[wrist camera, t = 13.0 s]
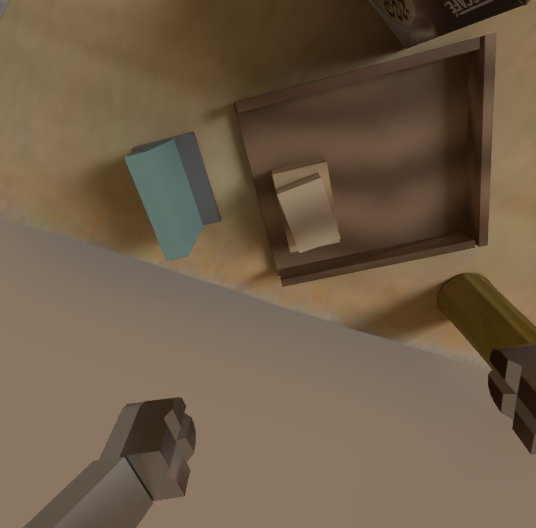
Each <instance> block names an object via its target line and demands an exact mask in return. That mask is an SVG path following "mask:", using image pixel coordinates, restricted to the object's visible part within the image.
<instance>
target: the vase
mask: <svg viewBox="0 0 536 528" xmlns="http://www.w3.org/2000/svg"><path fill="white" fill-rule="evenodd" d="M438 304H439V308H440V310H441V311H442V312H443V313H444V314H445V315H446V316H447V317H448V318H449V320H450V321H451V322H452V323H453V324H454V325H455V327H456V328H457V329H458V330H459V331H460V332H461V333H462V334H463V336H464V337H465V338H466V339H467V340H468V341H469V342H470V344H471V345H472V346H473V347H474V348H475V349H476V351H477V352H478V353H479V354H480V355H481V356H482V358H483V359H484V360H485V361H486V362H487V364H488V365H489V366H490V367H491V368H492V370H493V369H494V368H495V367H494V366H493V365H492V363H491V362H490V354H491V352H492V351H493V349H498V348H504V347H510V346H516V345H523V344H529V343H536V326H535V325H533V324H532V323H531V322H530V321H529V320H528V319H527V318H526V317H525V316H524V315H523V314H522V313H521V312H520V311H519V310H517V309H516V308H515V307H514V306H513V305H512V304H511V303H510V302H509V301H508V300H507V299H506V298H505V297H504V296H503V295H502V294H501V293H500V292H499V291H498V290H497V289H496V288H495V287H494V286H493V285H492V284H491V283H490V281H489V280H488V279H487V278H486V277H484V276H482V275H480V274H475V273H467V274H462V275H459V276H457V277H455V278H453V279H451V280H450V281H448V282H447V283H446V284H445V285H444V286H443V288H442V289H441V291H440V293H439V296H438Z"/></svg>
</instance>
